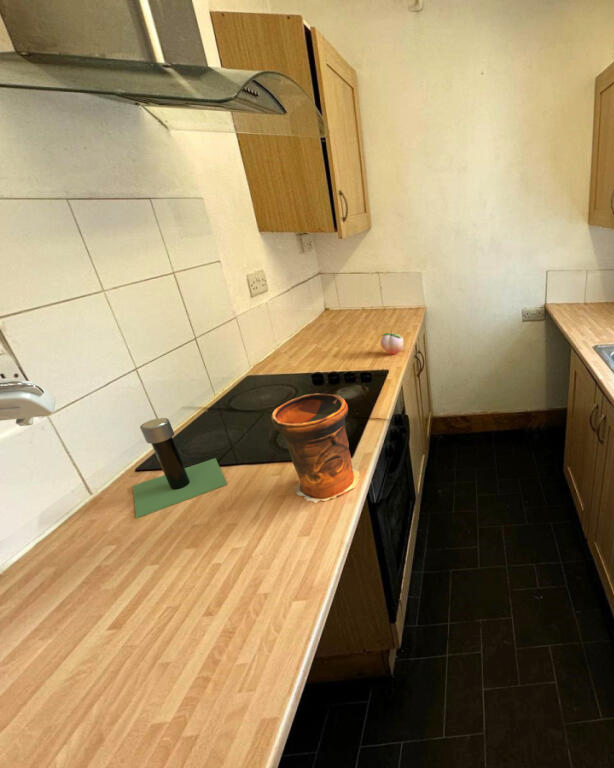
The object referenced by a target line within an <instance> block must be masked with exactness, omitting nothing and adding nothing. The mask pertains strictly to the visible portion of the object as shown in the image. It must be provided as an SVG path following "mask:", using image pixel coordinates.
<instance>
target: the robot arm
mask: <svg viewBox="0 0 614 768" xmlns="http://www.w3.org/2000/svg"><path fill="white" fill-rule="evenodd" d="M55 409H56V397H55V395H54V394H53V393H52V392H50V391H49V390H47V389H46V388H45V387H43V386H42V385H40V384H38V383H36V382H34V381H29V380H26V379H25V380H23V379H14V380H13V379H12V380H11V379H10V380H0V422H1V421H10V420H15V424H16V425H17V426H19V427H27V426H33V425H34V421H35V420H34V419H35V418H41V417H48V416H51V415H52V414H53V413H54V412H55Z"/></svg>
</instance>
